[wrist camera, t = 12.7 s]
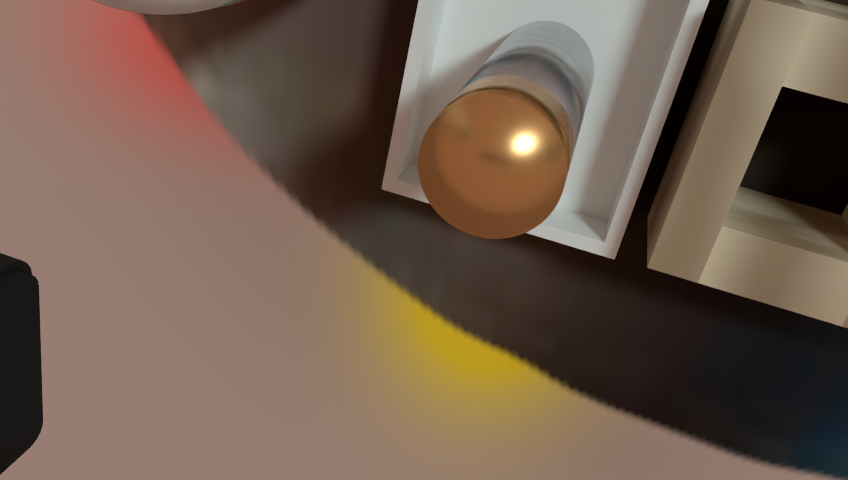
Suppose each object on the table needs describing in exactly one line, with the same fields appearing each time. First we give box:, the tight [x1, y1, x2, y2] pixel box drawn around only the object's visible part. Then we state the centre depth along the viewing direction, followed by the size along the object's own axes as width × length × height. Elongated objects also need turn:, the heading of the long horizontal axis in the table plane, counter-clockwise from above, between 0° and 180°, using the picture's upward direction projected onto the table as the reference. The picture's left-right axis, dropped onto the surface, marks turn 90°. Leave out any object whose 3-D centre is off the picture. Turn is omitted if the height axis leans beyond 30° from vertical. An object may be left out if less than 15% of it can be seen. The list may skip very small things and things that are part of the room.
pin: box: [418, 21, 595, 239], centre depth 26 cm, size 4×4×12 cm
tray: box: [381, 0, 709, 260], centre depth 31 cm, size 10×12×3 cm
